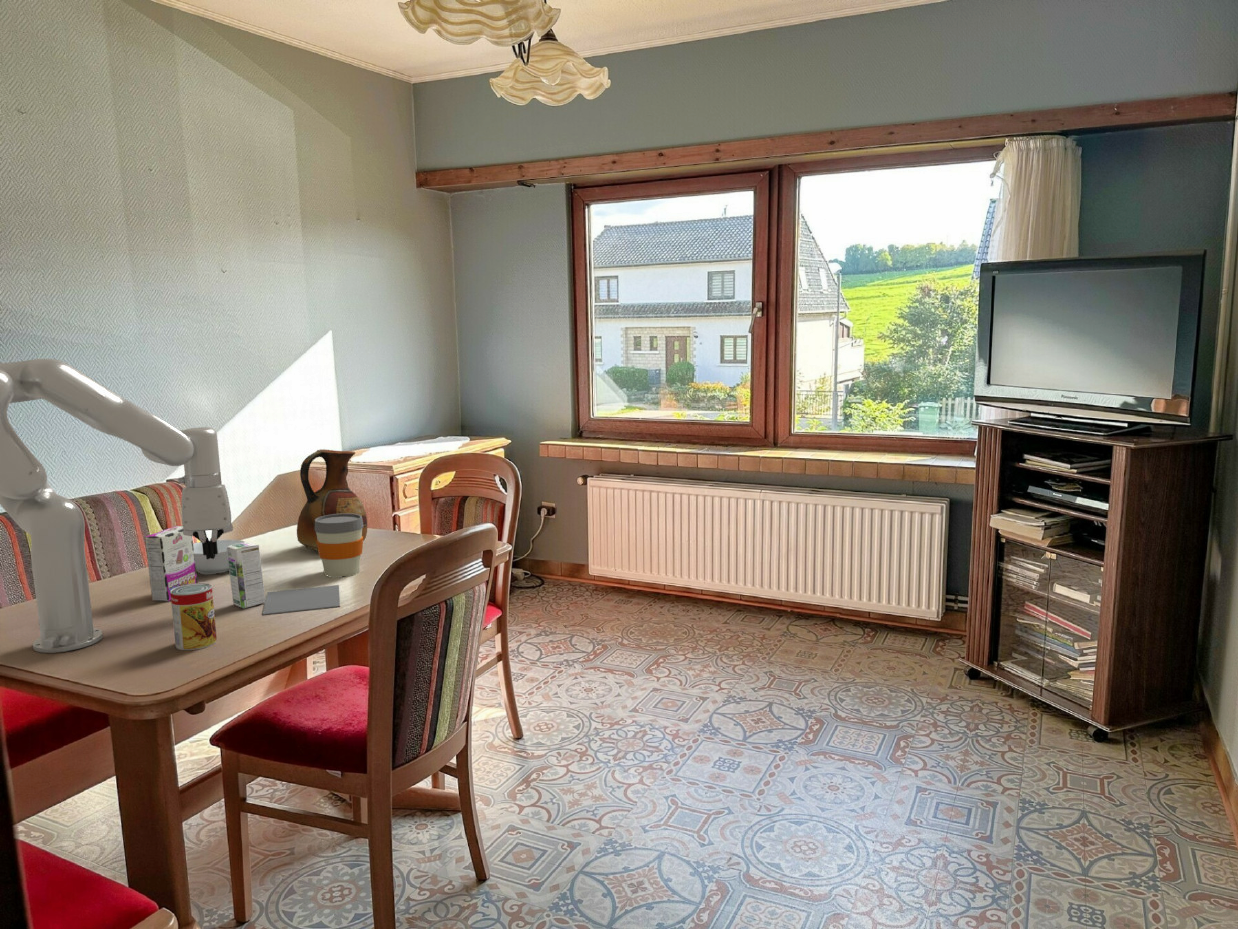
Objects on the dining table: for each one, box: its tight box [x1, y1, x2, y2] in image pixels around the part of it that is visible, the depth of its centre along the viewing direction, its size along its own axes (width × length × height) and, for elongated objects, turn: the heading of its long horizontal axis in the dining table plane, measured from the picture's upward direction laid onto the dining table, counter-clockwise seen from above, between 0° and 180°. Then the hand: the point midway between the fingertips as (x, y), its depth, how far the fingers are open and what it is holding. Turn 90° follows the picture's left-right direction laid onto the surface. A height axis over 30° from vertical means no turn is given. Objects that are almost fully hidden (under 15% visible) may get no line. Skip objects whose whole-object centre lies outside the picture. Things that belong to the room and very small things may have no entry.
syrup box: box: [227, 541, 266, 609], centre depth 211 cm, size 6×6×14 cm
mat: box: [262, 584, 341, 616], centre depth 214 cm, size 18×17×1 cm
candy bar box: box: [144, 525, 198, 602], centre depth 219 cm, size 11×5×16 cm, turn 168°
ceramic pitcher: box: [296, 448, 368, 551], centre depth 262 cm, size 20×20×30 cm
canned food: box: [170, 582, 218, 651], centre depth 185 cm, size 8×8×12 cm
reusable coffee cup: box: [315, 513, 364, 578], centre depth 237 cm, size 13×12×15 cm
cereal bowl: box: [193, 539, 245, 575], centre depth 242 cm, size 17×17×7 cm
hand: (211, 557), depth 208 cm, fingers closed
